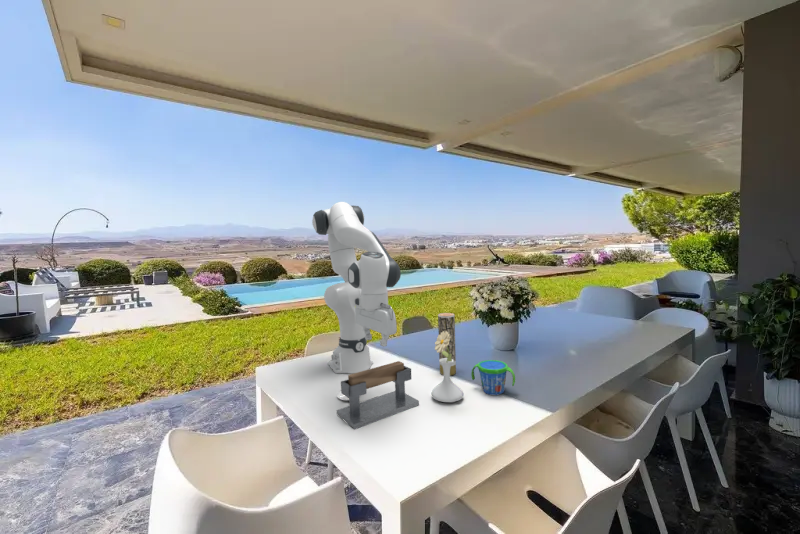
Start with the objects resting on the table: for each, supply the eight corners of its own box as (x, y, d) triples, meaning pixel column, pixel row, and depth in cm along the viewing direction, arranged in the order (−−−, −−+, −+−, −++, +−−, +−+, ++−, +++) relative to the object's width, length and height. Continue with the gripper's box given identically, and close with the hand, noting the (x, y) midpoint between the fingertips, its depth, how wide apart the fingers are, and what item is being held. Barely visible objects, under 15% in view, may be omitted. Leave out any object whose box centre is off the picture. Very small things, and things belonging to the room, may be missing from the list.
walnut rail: (348, 390, 116) (348, 375, 116) (399, 374, 128) (398, 361, 127) (353, 393, 114) (352, 377, 113) (404, 377, 125) (403, 363, 125)
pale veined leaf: (354, 388, 139) (353, 382, 138) (365, 402, 128) (364, 396, 128) (334, 394, 135) (333, 388, 135) (343, 409, 125) (343, 402, 124)
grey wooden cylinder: (455, 376, 148) (454, 316, 146) (439, 376, 149) (437, 316, 147) (456, 370, 154) (454, 312, 153) (440, 370, 156) (438, 312, 154)
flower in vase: (430, 391, 134) (428, 325, 132) (461, 391, 134) (459, 324, 132) (432, 408, 121) (430, 334, 119) (466, 407, 121) (465, 333, 119)
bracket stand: (336, 414, 119) (335, 379, 118) (398, 393, 133) (397, 361, 133) (354, 429, 109) (352, 390, 108) (419, 405, 124) (417, 370, 123)
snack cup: (467, 392, 132) (466, 365, 132) (478, 382, 141) (478, 357, 140) (509, 402, 123) (509, 373, 123) (519, 390, 132) (518, 363, 131)
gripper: (400, 304, 112) (402, 348, 113) (367, 296, 129) (368, 334, 130) (383, 307, 108) (385, 352, 109) (351, 298, 125) (352, 338, 126)
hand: (375, 342), depth 120 cm, fingers open, 8 cm apart
